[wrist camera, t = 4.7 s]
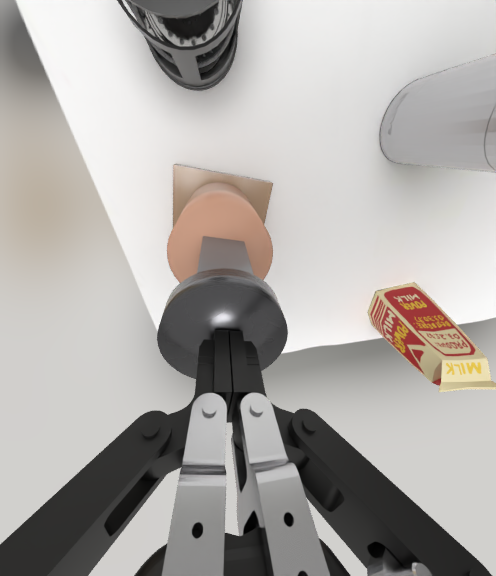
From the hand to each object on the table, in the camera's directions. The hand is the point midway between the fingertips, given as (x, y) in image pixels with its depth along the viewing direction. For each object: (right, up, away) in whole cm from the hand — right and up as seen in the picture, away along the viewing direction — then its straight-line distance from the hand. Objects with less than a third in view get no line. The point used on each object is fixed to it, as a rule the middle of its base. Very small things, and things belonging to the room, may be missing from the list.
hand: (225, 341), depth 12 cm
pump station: (-3, +13, +21) cm, 25 cm away
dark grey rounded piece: (-1, +5, +8) cm, 10 cm away
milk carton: (+31, -1, +35) cm, 47 cm away
